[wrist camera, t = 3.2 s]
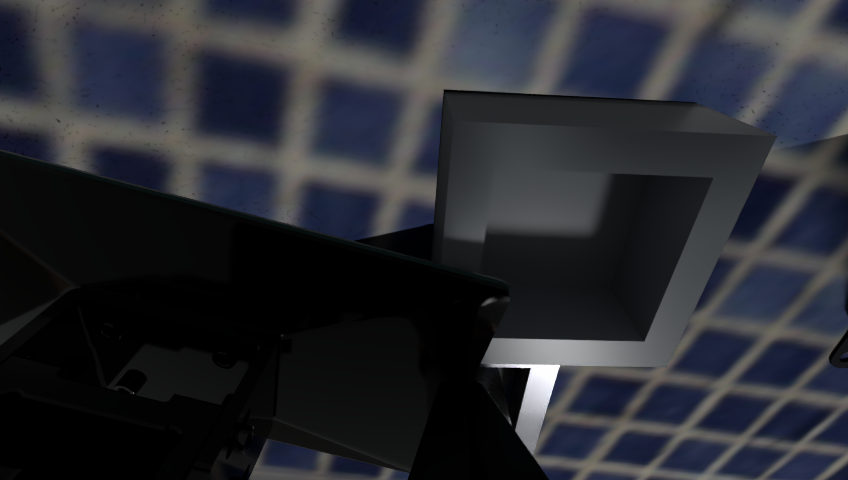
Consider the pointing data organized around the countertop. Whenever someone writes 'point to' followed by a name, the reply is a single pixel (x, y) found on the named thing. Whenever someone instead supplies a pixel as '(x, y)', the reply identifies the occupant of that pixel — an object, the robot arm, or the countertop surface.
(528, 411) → the pin socket
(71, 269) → the build plate
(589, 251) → the tray
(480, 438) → the robot arm
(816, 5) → the countertop surface
